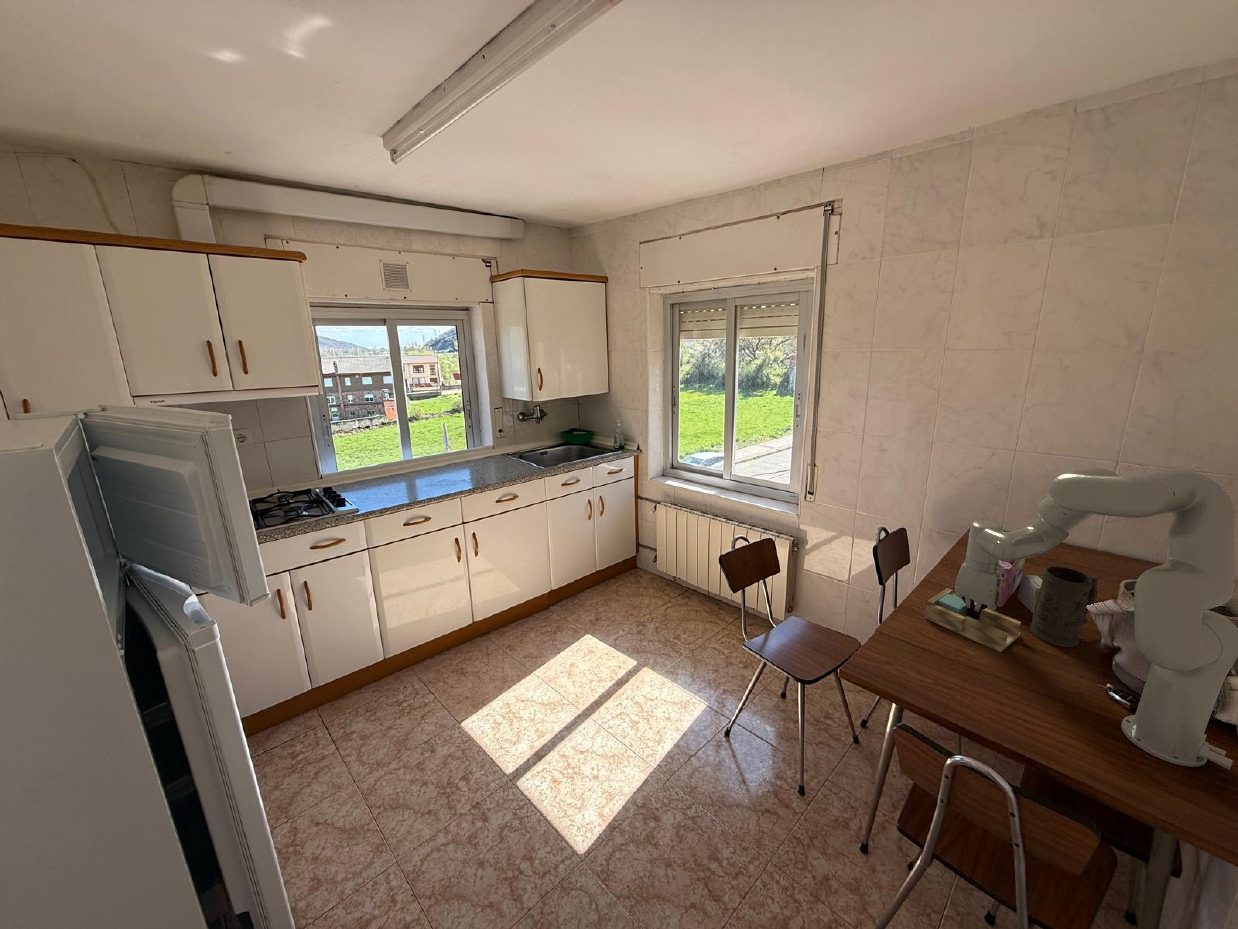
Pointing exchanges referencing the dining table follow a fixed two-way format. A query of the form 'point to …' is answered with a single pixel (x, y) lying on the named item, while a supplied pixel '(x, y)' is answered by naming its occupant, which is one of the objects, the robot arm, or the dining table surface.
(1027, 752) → the dining table surface
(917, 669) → the dining table surface
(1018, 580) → the gum box
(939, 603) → the block
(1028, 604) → the medicine box
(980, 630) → the chute
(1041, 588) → the beer stein
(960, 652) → the dining table surface
